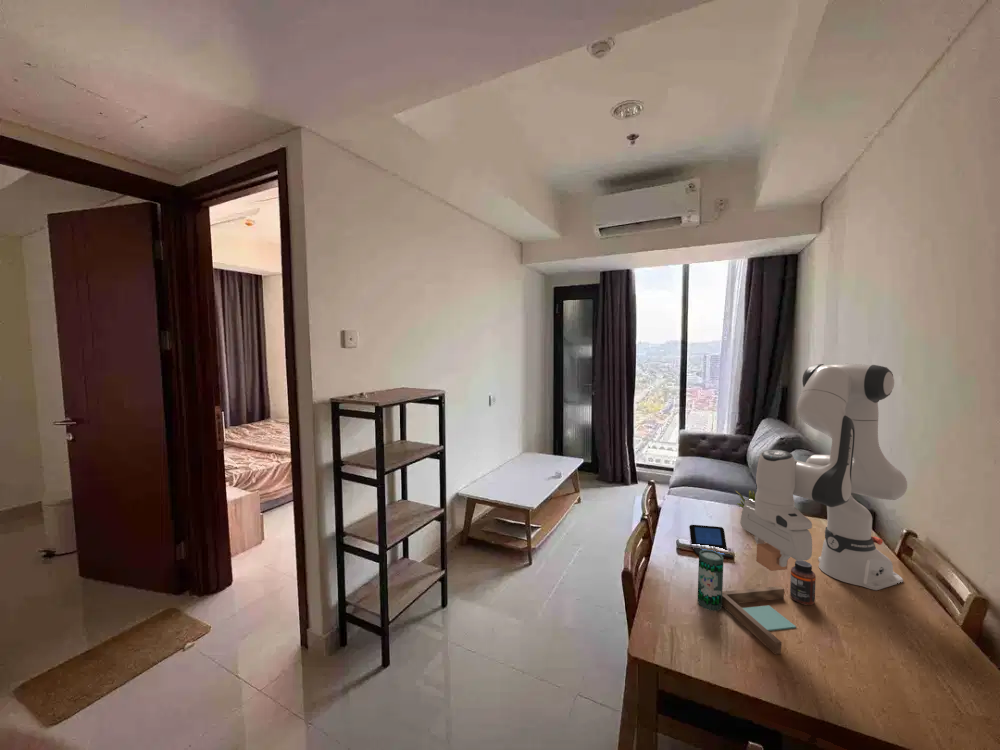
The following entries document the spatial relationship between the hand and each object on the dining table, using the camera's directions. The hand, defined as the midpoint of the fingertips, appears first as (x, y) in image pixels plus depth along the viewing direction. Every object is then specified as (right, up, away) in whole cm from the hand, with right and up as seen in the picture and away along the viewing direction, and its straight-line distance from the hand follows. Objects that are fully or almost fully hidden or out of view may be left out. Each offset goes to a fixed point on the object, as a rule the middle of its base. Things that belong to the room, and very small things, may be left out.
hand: (771, 559), depth 109 cm
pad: (0, -17, +1) cm, 17 cm away
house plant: (+31, -14, +56) cm, 66 cm away
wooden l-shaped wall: (+2, -17, 0) cm, 17 cm away
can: (-13, -17, +8) cm, 23 cm away
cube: (0, -2, 0) cm, 2 cm away
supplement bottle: (+16, -17, +10) cm, 25 cm away
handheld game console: (+4, -15, +39) cm, 42 cm away
